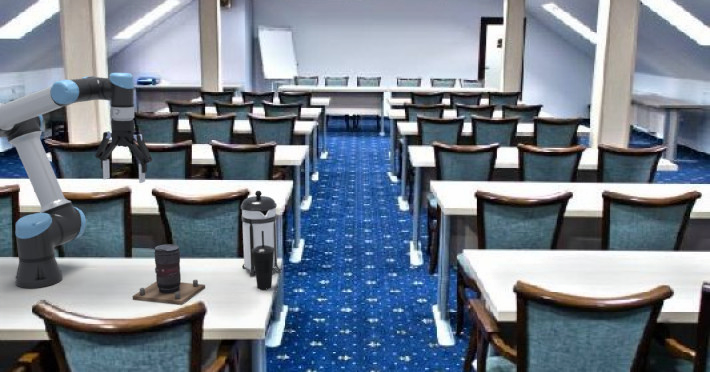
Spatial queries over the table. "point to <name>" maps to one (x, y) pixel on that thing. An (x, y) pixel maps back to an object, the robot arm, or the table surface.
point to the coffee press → (258, 227)
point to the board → (177, 297)
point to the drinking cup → (263, 265)
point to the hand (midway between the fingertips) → (124, 180)
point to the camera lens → (167, 268)
